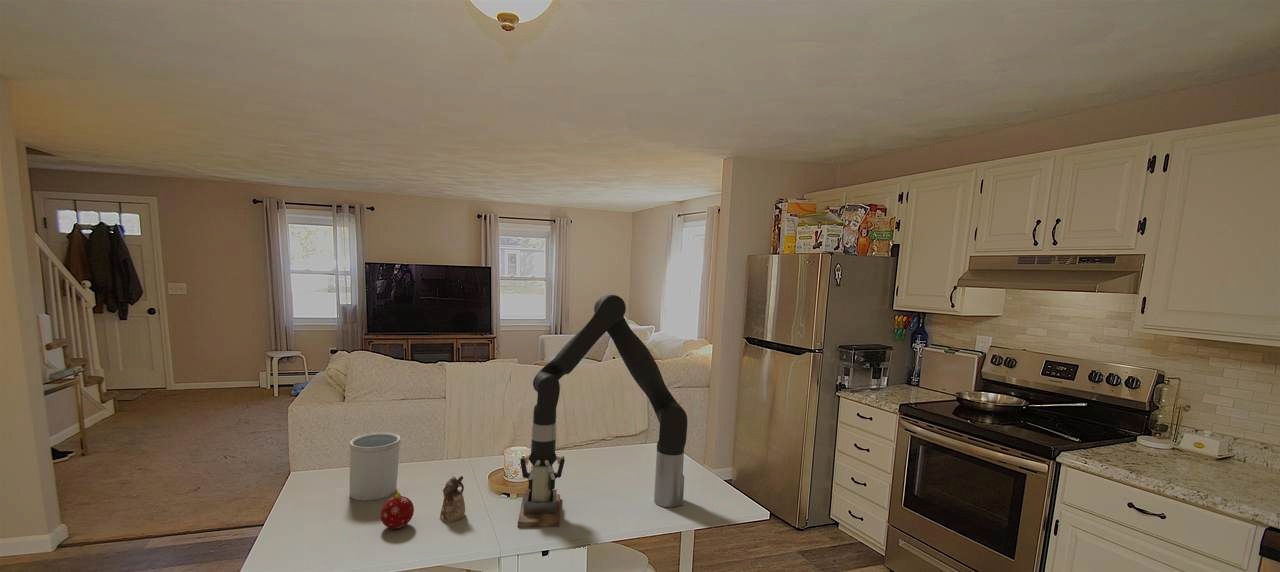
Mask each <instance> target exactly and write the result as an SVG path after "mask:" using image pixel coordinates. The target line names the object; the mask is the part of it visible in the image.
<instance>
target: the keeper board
mask: <svg viewBox="0 0 1280 572" xmlns="http://www.w3.org/2000/svg"><path fill="white" fill-rule="evenodd" d="M525 495H526V493H525V494H524V493H523V495H522V500H521V505H520V509H519V515H518V520H517V528H543V527H544V528H545V527H549V528H550V527H551V528H552V527H560V513H561V511H560V509H561V508H560V507H561V494H560V493H557V495H556V514H529V515H523V512H524V500H525Z"/></svg>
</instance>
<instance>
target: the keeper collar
mask: <svg viewBox="0 0 1280 572" xmlns="http://www.w3.org/2000/svg"><path fill="white" fill-rule="evenodd" d="M525 491H526V492H525V494H526V495H525V500H524V512H523V515H529V514H556V495H557V494H558V493H557V492H558V491H557V489H552V491H551V495H550V501H536V502H532V492H531V490H529V489H526V490H525Z"/></svg>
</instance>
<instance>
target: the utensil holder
mask: <svg viewBox="0 0 1280 572" xmlns="http://www.w3.org/2000/svg"><path fill="white" fill-rule="evenodd" d="M401 440H402V439H401V436H400V435H399V434H396V433H393V432H373V433H366V434H362V435H359V436H355V437H354V438H352V439H351V440H350V441H349V448H350V449H349V450H350V453H349V497H350V498H351V499H353V500H356V501H362V502H363V501H364V502H365V501H367V502H368V501H376V500H381V499H384V498H387V497H389V496H391V495H392V494H394V493H395V492H396V491H397V486H398V485H397V484H398V483H397V482H398V473H399V456H400V455H399V454H400V444H401Z"/></svg>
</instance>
